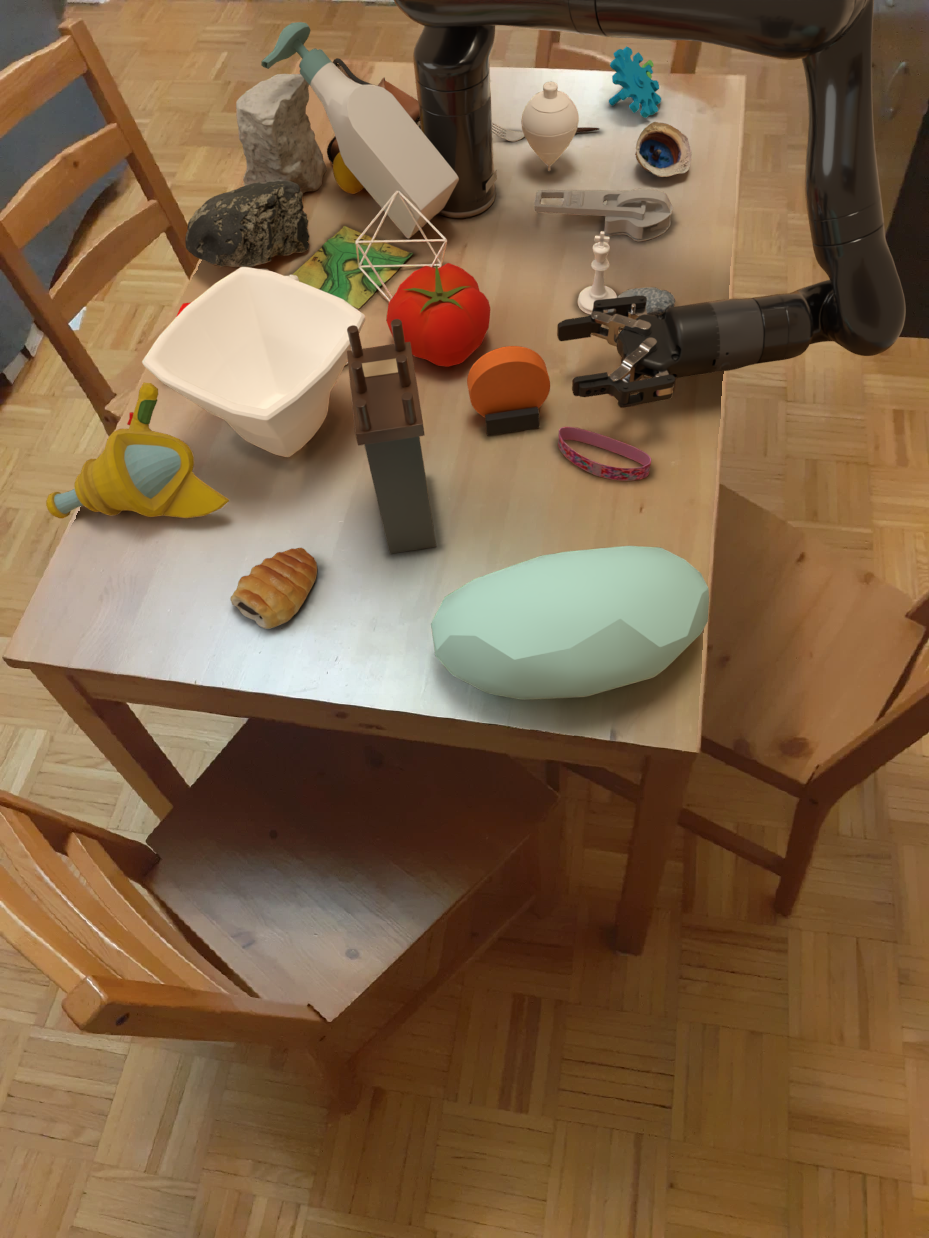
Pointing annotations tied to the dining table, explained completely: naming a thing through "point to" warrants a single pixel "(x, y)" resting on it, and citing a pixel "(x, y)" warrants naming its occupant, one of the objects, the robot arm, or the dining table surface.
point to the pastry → (276, 587)
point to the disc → (508, 380)
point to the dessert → (663, 150)
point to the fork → (518, 135)
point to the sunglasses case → (402, 97)
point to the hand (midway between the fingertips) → (565, 359)
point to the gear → (635, 82)
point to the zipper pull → (615, 209)
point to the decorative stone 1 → (279, 133)
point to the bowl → (258, 355)
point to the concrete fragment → (249, 225)
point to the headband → (609, 445)
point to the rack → (384, 389)
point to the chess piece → (597, 277)
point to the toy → (140, 474)
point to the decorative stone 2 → (572, 622)
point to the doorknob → (345, 176)
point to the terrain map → (350, 266)
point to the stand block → (402, 493)
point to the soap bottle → (373, 136)
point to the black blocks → (512, 421)
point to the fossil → (652, 299)
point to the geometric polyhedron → (397, 241)
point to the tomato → (441, 314)
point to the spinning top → (549, 123)
